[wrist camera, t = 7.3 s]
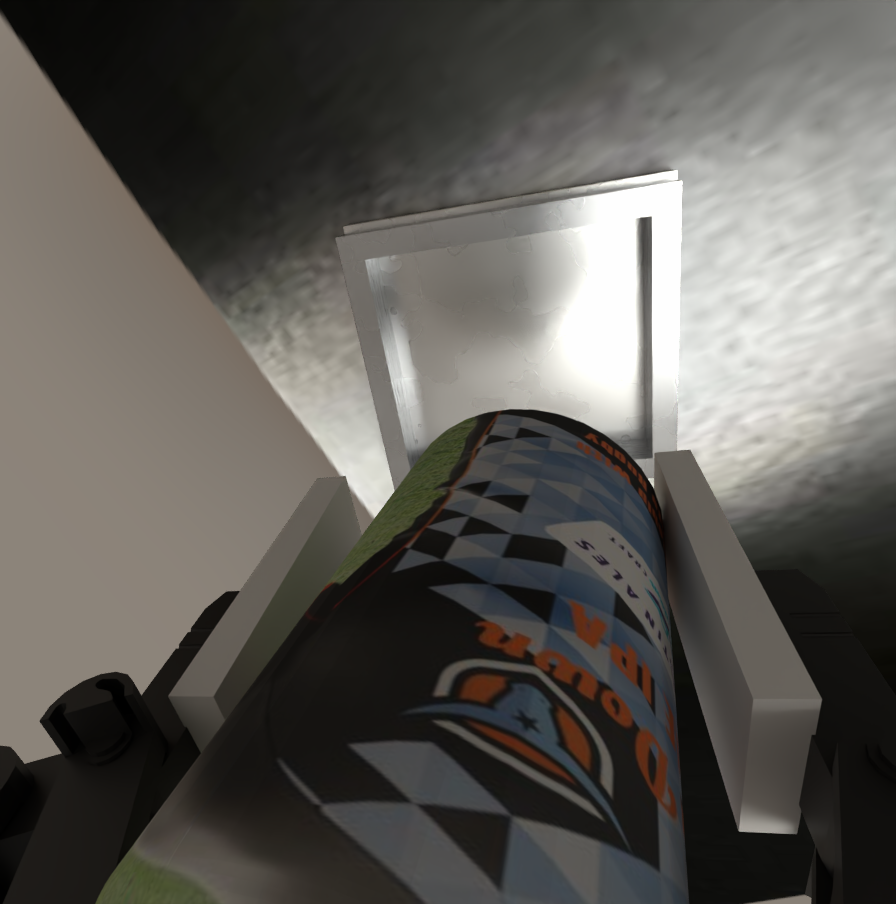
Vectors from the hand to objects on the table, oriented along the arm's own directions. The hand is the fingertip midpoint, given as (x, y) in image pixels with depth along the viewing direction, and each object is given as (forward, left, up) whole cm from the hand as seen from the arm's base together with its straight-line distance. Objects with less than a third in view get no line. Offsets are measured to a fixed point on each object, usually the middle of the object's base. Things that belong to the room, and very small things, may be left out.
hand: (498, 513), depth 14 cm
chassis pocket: (0, 0, -14) cm, 14 cm away
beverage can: (0, 0, -1) cm, 1 cm away
